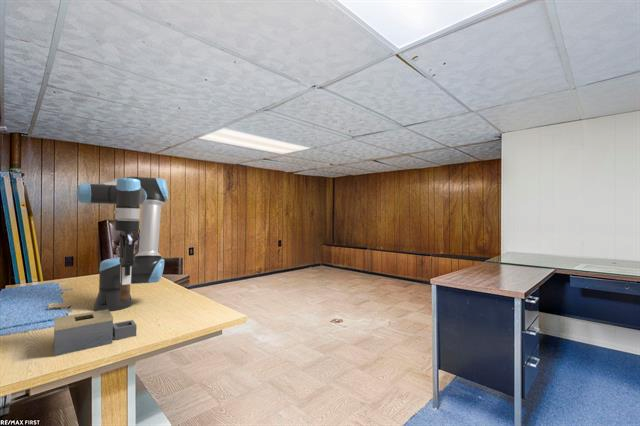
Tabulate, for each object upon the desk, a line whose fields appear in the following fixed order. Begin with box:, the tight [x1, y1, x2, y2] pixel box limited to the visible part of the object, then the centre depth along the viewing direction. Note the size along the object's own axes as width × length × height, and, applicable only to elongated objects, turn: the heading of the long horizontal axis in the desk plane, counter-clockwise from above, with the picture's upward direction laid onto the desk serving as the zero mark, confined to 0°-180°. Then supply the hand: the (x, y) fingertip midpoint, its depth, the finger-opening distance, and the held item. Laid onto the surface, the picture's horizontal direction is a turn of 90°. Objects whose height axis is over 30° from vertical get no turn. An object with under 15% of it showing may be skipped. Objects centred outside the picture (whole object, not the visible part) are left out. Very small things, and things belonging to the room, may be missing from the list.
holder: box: [113, 319, 137, 341], centre depth 111 cm, size 7×7×4 cm
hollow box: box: [53, 309, 114, 357], centre depth 103 cm, size 11×15×9 cm
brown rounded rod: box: [120, 258, 131, 302], centre depth 111 cm, size 3×3×16 cm
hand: (125, 283), depth 111 cm, fingers closed on brown rounded rod, 3 cm apart
